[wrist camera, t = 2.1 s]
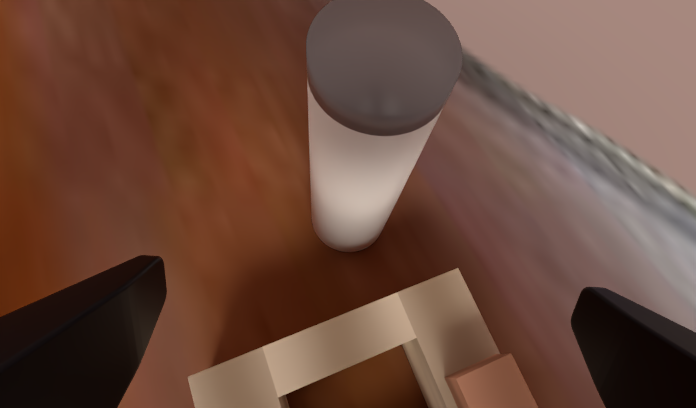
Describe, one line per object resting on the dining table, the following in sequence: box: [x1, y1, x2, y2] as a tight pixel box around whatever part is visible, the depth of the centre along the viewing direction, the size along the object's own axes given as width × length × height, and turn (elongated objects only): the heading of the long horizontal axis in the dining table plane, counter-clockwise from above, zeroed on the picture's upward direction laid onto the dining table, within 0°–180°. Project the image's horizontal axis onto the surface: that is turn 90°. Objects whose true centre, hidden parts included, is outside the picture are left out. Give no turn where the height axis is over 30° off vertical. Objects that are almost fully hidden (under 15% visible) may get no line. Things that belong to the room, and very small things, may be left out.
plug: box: [306, 0, 462, 252], centre depth 17 cm, size 4×4×13 cm
